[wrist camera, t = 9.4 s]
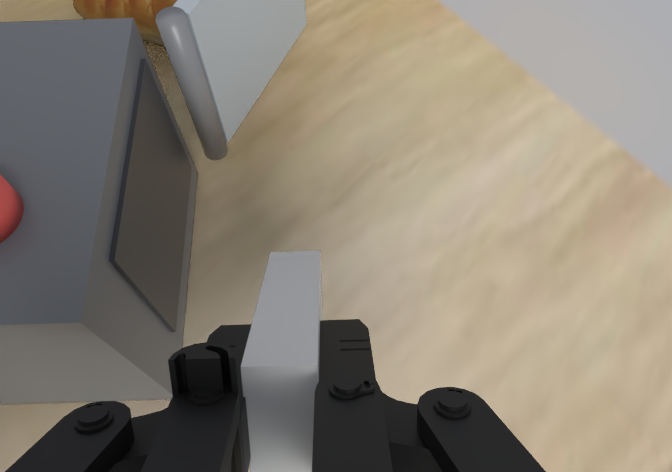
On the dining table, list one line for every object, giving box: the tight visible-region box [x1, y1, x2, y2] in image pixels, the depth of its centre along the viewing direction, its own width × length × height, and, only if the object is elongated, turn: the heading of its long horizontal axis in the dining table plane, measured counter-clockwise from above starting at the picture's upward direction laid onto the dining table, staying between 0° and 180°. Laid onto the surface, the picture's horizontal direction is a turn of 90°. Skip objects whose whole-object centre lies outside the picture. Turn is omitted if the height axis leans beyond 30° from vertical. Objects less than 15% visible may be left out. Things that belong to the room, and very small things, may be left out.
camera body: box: [0, 18, 198, 405], centre depth 20 cm, size 10×12×10 cm
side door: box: [155, 0, 307, 160], centre depth 24 cm, size 1×9×8 cm, turn 155°
